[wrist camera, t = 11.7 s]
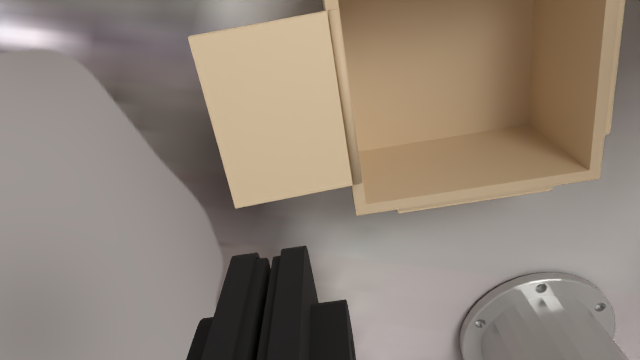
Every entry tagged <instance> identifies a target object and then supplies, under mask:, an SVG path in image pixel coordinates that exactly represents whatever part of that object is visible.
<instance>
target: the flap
mask: <svg viewBox="0 0 640 360" xmlns="http://www.w3.org/2000/svg"><path fill="white" fill-rule="evenodd" d="M327 12H328V16H327ZM328 19H329V22H328ZM329 26H330V29H329ZM330 33H331V36H330ZM331 39H332V43H331ZM188 40H189V43H190V47H191V50H192V54H193V58H194V61H195V65H196V68H197V72H198V76H199V79H200V83H201V86H202V90H203V94H204V97H205V101H206V104H207V108H208V112H209V115H210V119H211V122H212V126H213V130H214V133H215V137H216V140H217V144H218V148H219V151H220V155H221V158H222V162H223V166H224V169H225V173H226V177H227V180H228V184H229V187H230V191H231V195H232V198H233V202H234V205H235V209H236V208H241V207H246V206H251V205H256V204H261V203H266V202H271V201H276V200H281V199H286V198H291V197H297V196H302V195H307V194H312V193H317V192H322V191H327V190H332V189H337V188H342V187H347V186H352V185H353V184H361V183H362V175H361V167H360V160H359V153H358V145H357V138H356V131H355V124H354V116H353V109H352V102H351V95H350V87H349V80H348V73H347V65H346V58H345V51H344V44H343V36H342V29H341V22H340V14H339V9H332V10H328V11H321V12H316V13H310V14H305V15H300V16H294V17H289V18H284V19H278V20H273V21H267V22H262V23H257V24H251V25H246V26H240V27H235V28H230V29H224V30H219V31H213V32H208V33H203V34H197V35H192V36H189V37H188ZM332 46H333V49H332ZM333 53H334V56H333ZM334 60H335V63H334ZM335 66H336V70H335ZM336 73H337V76H336ZM337 80H338V83H337ZM338 87H339V90H338ZM339 93H340V97H339ZM340 100H341V103H340ZM341 107H342V110H341ZM342 114H343V117H342ZM343 121H344V124H343ZM344 127H345V130H344ZM345 134H346V137H345ZM346 141H347V144H346ZM347 148H348V151H347ZM348 154H349V157H348ZM349 161H350V164H349ZM350 168H351V171H350ZM351 175H352V178H351ZM352 181H353V184H352Z"/></svg>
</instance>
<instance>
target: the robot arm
mask: <svg viewBox="0 0 640 360" xmlns="http://www.w3.org/2000/svg"><path fill="white" fill-rule="evenodd" d="M614 332H615V315H614V311H613V308H612V306H611V305H610V303H609V301H608V300H607V298H606V297H605V296H604V295H603V294H602V293H601V292H600V290H599V289H598V288H597V287H595V286H594V285H592V284H591V283H590V282H588V281H586V280H584V279H582V278H580V277H577V276H574V275H569V274H565V273H553V272H546V273H536V274H530V275H526V276H523V277H519V278H516V279H513V280H511V281H509V282H506V283H504V284H502V285H500V286H499V287H497V288H495V289H493V290H492V291H490V292H489V293H488V294H486V295H485V296H484V297H483V298H482V299H480V300H479V301H478V302H477V304H476V305H475V306H474V307H473V308H472V309H471V310H470V312H469V314H468V315H467V317H466V319H465V320H464V323H463V326H462V329H461V332H460V341H459V344H460V350H461V354H462V356H463V359H464V360H629V359H628V358H627V356H626V355H625V354H624V353H623V351H622V350H621V349H620V348H619V346H618V345H617V344H616V343H615V341H614V340H613V336H614ZM186 360H356V356H355V348H354V341H353V334H352V328H351V322H350V316H349V310H348V305H347V301H346V300H339V301H332V302H324V303H318V298H317V293H316V289H315V284H314V279H313V274H312V269H311V264H310V259H309V254H308V250H307V247H306V246H300V247H293V248H286V249H282V250H281V256H275V257H273V260H272V267H271V268H270V264H269V261H268V259H267V258H261V259H260V257H259V255H258V253H251V254H243V255H236V256H233V257H232V258H231V261H230V265H229V268H228V271H227V275H226V278H225V281H224V284H223V288H222V291H221V294H220V298H219V301H218V304H217V308H216V311H215V314H214V317H210V318H203V319H202V320H201V321H200V322H199V324H198V327H197V330H196V333H195V335H194V338H193V341H192V344H191V347H190V350H189V353H188V356H187V359H186Z"/></svg>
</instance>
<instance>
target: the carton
mask: <svg viewBox="0 0 640 360" xmlns="http://www.w3.org/2000/svg"><path fill="white" fill-rule="evenodd" d="M322 3H323V9H324V11H328V10H332V9H339V14H340V22H341V29H342V36H343V44H344V51H345V58H346V65H347V73H348V80H349V87H350V95H351V102H352V109H353V116H354V124H355V131H356V138H357V145H358V153H359V160H360V167H361V175H362V183H361V184H353V181H352V184H353V185H352V186H351V189H352V194H353V200H354V205H355V211H356V216H358V215H365V214H371V213H378V212H385V211H391V210H397V212H398V214H399V213H405V212H412V211H419V210H425V209H432V208H439V207H445V206H452V205H458V204H465V203H472V202H478V201H485V200H492V199H498V198H505V197H511V196H518V195H525V194H531V193H538V192H544V191H551V190H552V186H556V185H563V184H569V183H576V182H582V181H589V180H596V179H600V175H601V166H602V157H603V148H604V139H605V135H608V134H610V130H611V121H612V112H613V104H614V95H615V86H616V78H617V69H618V60H619V51H620V43H621V34H622V25H623V16H624V8H625V0H322ZM327 16H328V12H327ZM328 22H329V19H328ZM329 29H330V26H329ZM330 36H331V33H330ZM331 43H332V39H331ZM332 49H333V46H332ZM333 56H334V53H333ZM334 63H335V60H334ZM335 70H336V66H335ZM336 76H337V73H336ZM337 83H338V80H337ZM338 90H339V87H338ZM339 97H340V93H339ZM340 103H341V100H340ZM341 110H342V107H341ZM342 117H343V114H342ZM343 124H344V121H343ZM344 130H345V127H344ZM345 137H346V134H345ZM346 144H347V141H346ZM347 151H348V148H347ZM348 157H349V154H348ZM349 164H350V161H349ZM350 171H351V168H350ZM351 178H352V175H351Z"/></svg>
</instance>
